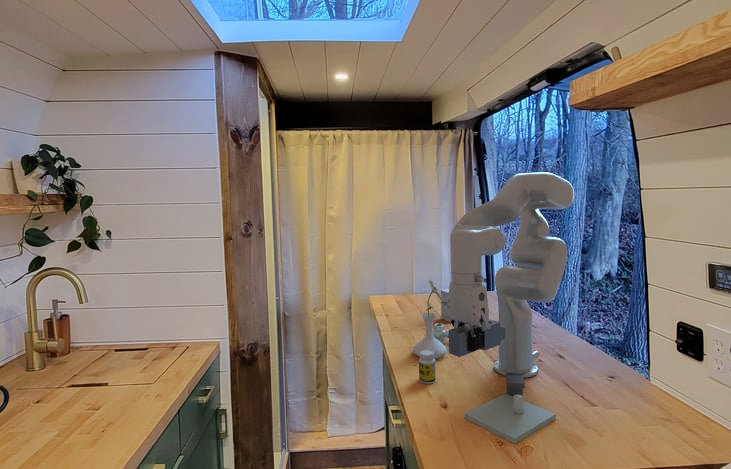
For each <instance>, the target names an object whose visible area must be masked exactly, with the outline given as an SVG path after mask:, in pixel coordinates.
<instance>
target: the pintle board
mask: <svg viewBox="0 0 731 469" xmlns="http://www.w3.org/2000/svg"><path fill="white" fill-rule="evenodd" d="M505 377H506V378H505V379H506V380H505V381H506V382H505V384H506V388H505V390H506V392H505V393H503V394H502V395H500V396H498V397H496V398H494V399H492V400H489V401H488V402H485V403H484V404H481V405H480V406H477V407H475V408H473V409H470V410H469V411H467V412H465V413H464V419H465V420H468V421H469V422H471V423H473V424H475V425H477V426H479V427H481V428H483V429H485V430H487V431H489V432H491V433H493V434H494V435H497V436H499V437H500V438H503V439H504V440H506V441H508V442H510V443H513V444H514V445H516V444H517V443H519V442H520V441H522V440H523V439H526V438H527V437H529V436H530V435H532V434H534V433H535V432H537V431H538V430H540V429H542V428H543V427H545V426H547V425H548V424H551V422H553V421H555V420H556V419H557V414H556V413H553V412H552V411H549V410H546V409H545V408H542V407H540V406H537V405H535V404H533V403H530V402H527V401H525V400H524V389H526V382H525V380H524V379H525V378H523V375H522V373H508V372H506V376H505Z"/></svg>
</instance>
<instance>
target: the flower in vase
mask: <svg viewBox="0 0 731 469" xmlns="http://www.w3.org/2000/svg"><path fill="white" fill-rule="evenodd" d="M433 282H434V281H432V280H431V279H429V280H428V283H429V285H430V287H431V292H430V293H429V296H428V299H427V301H426V303H427V308H426V309H425V311H427V312H424V313H421V314H420V316H421V317H422V319H423V320H424V325H425V336H424V337H423V338H422V339H421V340H419V341H418V342H417V343H415V345H414V346H413V347H412V352H413V354H414V355H415V356H416V357H419V358H420V352H421V351H424V350H429V351H432V352H434V359H437V358H440V357H443V356H446V354H447V352H448V350H447V347H446V346H445V345H444V343H443V344H442V343H441V342H440V341H438V340H437V339H436V338H435V337H434V335H433V332H434V322H435V318H436V317H437V314H436V313H435V312H434V313H433V312H430V310H432V309H433V306H432V305H431V304H430V298H431V297H432V294H433V293H435V295H436V296H437V298H438V299H439V301H441V300H442V297H441V293H440V292H439V291H438V288H437V287H436V286H434V283H433Z"/></svg>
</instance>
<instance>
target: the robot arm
mask: <svg viewBox="0 0 731 469" xmlns="http://www.w3.org/2000/svg"><path fill="white" fill-rule="evenodd" d="M574 199H575V190H574V187H573V185H572V184H571V182H570V181H568V180H567V179H565V178H563V177H561V176H559V175H556V174H554V173H551V172H546V171H545V172H542V171H541V172H525V173H523V172H522V173H517V174H513V175H512V176H511V177H510V178H508V180H507V181H506V182H505V184H504V185H503V186H502V188H501V189H500V190H499V191H498V193H496V195H495V196H494V198H492V199H491V200H489V201H486V202H484V203H483V204H481V205H479V206H476V207H475V208H473V209H471V210H469V211H467V212H466V213H465V214H463V216H461V218H460V219H459V220H458V221H457V222H456V224H455V225H454V227H453V228H452V230H451V233H450V236H449V237H450V238H449V245H450V246H449V247H450V278H451V279H450V280H451V281H450V282H449V285H448V286H449V287H448V289H449V294H448V313H447V315H446V318H447V319H448V320H449V321H450V322H451V323H450V322H449V323H450V324H451V325H452V327H453V329H454V328H457V327H460V326H463V325H465V324H469V326H470V333H471V336H470V337H469V351H470V352H472V353H475V352H477V351H479V350H480V349H479V335H481V334H482V333H483V332H484V331H485V330H488V329H490V325H489V322H488V321H489V319H490V312H489V311H490V310H489V300H488V295H487V294H488V293H487V290H486V286H485V284H483V282H485V280H486V279H485V277H484V276H483V272H482V269H483V267H482V256H494V255H497V254H499V253H500V252H502V251H503V249H504V248H505V245H506V235H505V233H504V231H503V230H502V229H501V228H499V227H500V226H504V225H508V224H510V223H513V222H515V221H517V219H518V218H520V224H519V227H518V229H517V233H516V235H515V238H514V241H513V243H512V246H511V249H510V260H511V262H512V263H513V264H514V265H504V266H502V267H500V268H499V269H498V270H497V271H496V273H495V275H494V287H495V291H496V297H497V303H498V322H500V327H503V328H505V339H504V340H501V345H498V360H495V361H494V363H493V369H494V371H496V372H497V373H498V374H500V375H502V376H505V377H506V372H508V373H522V375H523V379H525V378H527V379H528V378H531V377H532V378H533V377H534V376H535V375H537V374H539V373H538V372H539V367H538V365H536V363H534V361H535V359H536V358H539V357H540V356H541V354H540V352H539V351H538V350H534V351H533V312H532V309H531V306H530V304H529V303H528V301H529V302H530V301H531V302H536V303H543V304H544V303H551V302H552V301H554V299H555V298H556V296H557V295H558V291H559V288H560V285H561V282H562V278H563V276H564V271H565V268H566V265H567V261H568V246H567V244H566V242H565V241H564V240H562V239H561V238H559V237H555V236H554V237H553V236H548V234H549V230H550V226H549V224H548V221H547V220H546V218H545V217H544V215H542V214H541V211H540V210H564V209H567V208H569V207H570V206H572V204H573V202H574ZM480 322H481V324H482V326H481V325H480ZM475 327H476V330H475Z"/></svg>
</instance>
